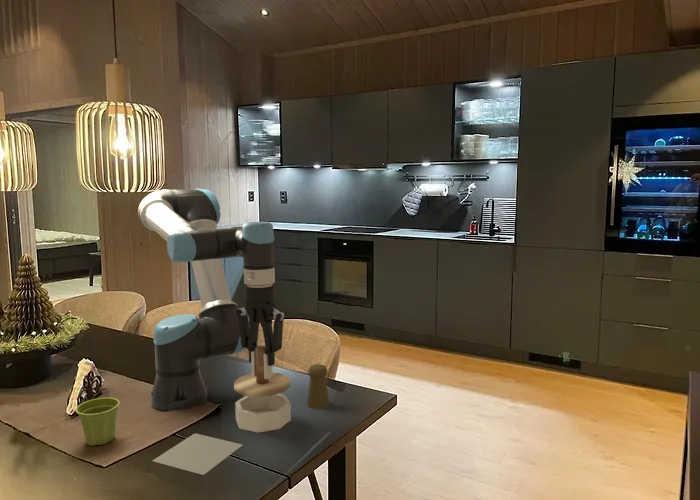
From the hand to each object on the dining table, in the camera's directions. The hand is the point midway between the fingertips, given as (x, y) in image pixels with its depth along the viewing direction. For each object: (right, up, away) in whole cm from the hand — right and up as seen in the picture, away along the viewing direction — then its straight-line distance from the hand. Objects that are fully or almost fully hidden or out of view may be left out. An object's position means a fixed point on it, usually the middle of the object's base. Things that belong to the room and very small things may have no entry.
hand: (262, 376), depth 136 cm
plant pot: (-37, -14, -8) cm, 40 cm away
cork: (+13, -11, +12) cm, 21 cm away
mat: (-12, -14, -15) cm, 24 cm away
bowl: (0, -12, +2) cm, 12 cm away
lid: (0, -2, 0) cm, 2 cm away
